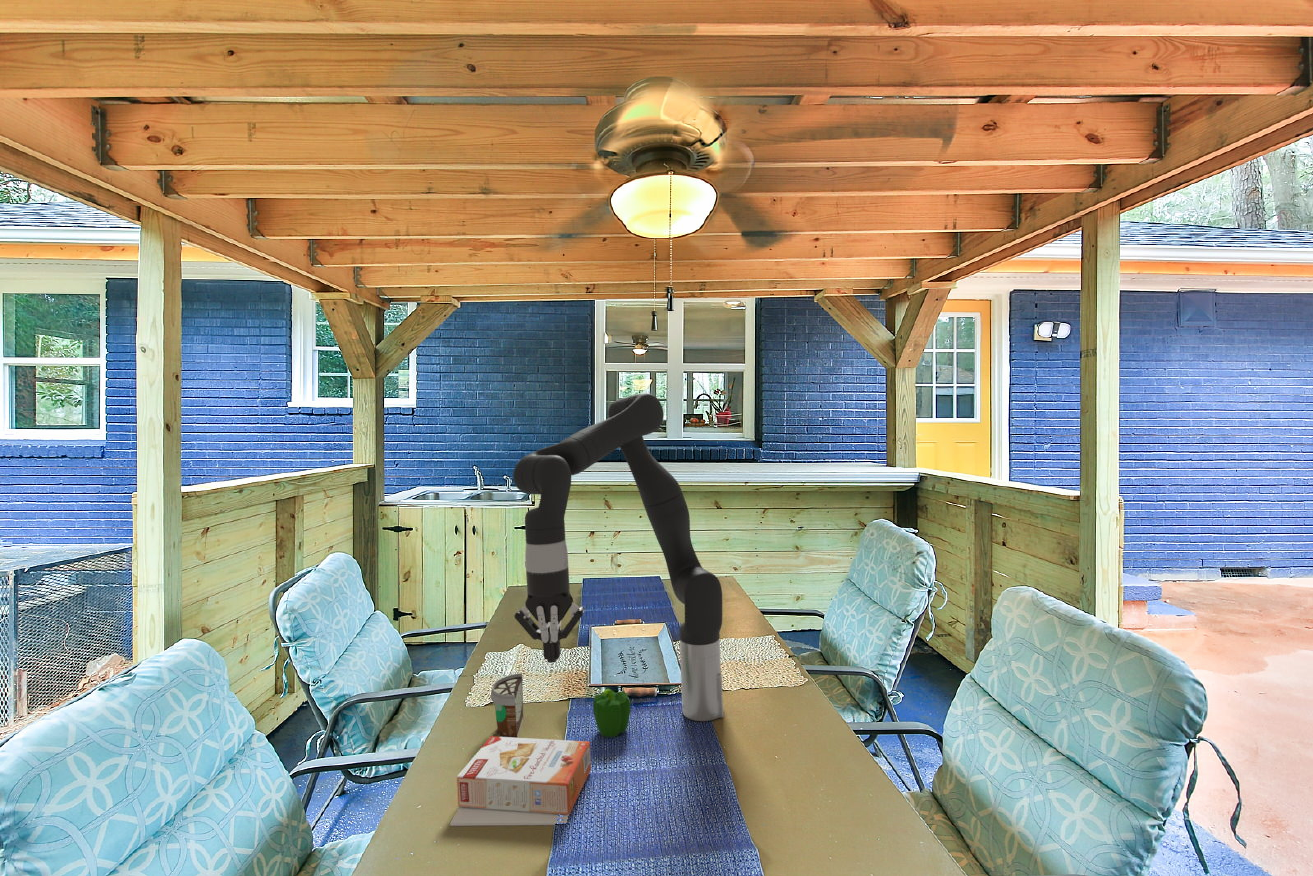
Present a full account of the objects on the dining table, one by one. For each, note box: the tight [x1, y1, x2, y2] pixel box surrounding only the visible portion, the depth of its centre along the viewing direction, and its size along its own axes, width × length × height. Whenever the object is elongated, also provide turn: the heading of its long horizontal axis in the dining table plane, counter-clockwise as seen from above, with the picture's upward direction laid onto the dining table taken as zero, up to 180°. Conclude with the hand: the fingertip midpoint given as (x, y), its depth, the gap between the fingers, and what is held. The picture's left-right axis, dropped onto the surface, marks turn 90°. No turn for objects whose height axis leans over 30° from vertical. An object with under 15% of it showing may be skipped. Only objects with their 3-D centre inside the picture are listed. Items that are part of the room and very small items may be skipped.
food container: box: [490, 672, 524, 738], centre depth 133 cm, size 12×6×10 cm, turn 5°
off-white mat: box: [449, 806, 570, 827], centre depth 110 cm, size 20×18×1 cm
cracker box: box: [456, 735, 592, 815], centre depth 110 cm, size 14×6×21 cm
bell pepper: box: [592, 688, 632, 738], centre depth 130 cm, size 8×8×10 cm
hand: (552, 660), depth 107 cm, fingers closed
